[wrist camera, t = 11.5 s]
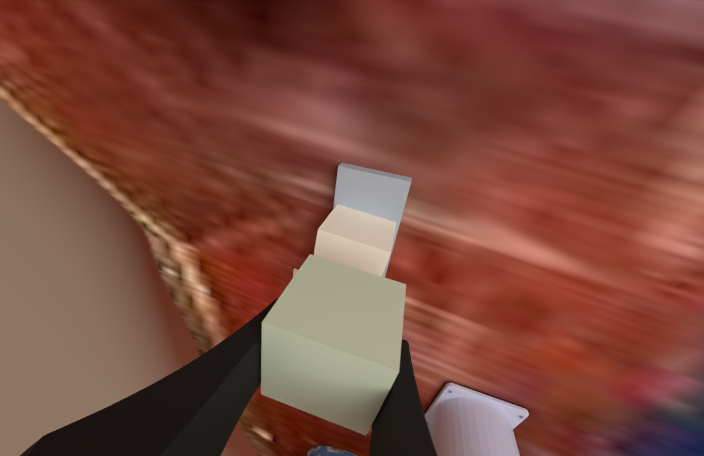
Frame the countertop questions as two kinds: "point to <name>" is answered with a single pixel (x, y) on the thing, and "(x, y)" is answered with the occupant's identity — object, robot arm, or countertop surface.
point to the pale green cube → (334, 343)
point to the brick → (355, 240)
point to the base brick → (372, 193)
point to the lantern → (328, 451)
